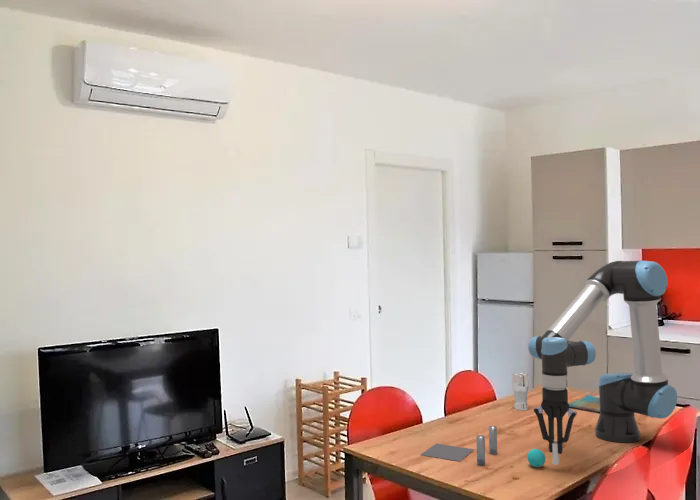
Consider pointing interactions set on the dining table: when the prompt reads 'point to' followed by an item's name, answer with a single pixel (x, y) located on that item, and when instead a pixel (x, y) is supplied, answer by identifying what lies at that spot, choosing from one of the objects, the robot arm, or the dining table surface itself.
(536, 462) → the ball
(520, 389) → the beer glass
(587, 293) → the robot arm
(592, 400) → the dish towel
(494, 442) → the post
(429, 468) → the dining table surface
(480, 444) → the post
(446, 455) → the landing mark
